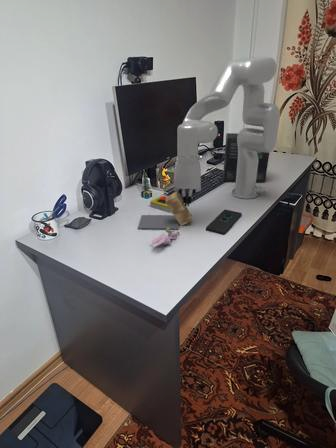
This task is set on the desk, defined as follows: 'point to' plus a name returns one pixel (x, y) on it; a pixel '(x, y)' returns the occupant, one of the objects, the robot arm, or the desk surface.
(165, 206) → the emergency button
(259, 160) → the headset box
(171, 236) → the pink creature figurine
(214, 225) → the smart home device
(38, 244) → the desk surface
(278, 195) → the desk surface
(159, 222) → the charcoal mat
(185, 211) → the oak block
